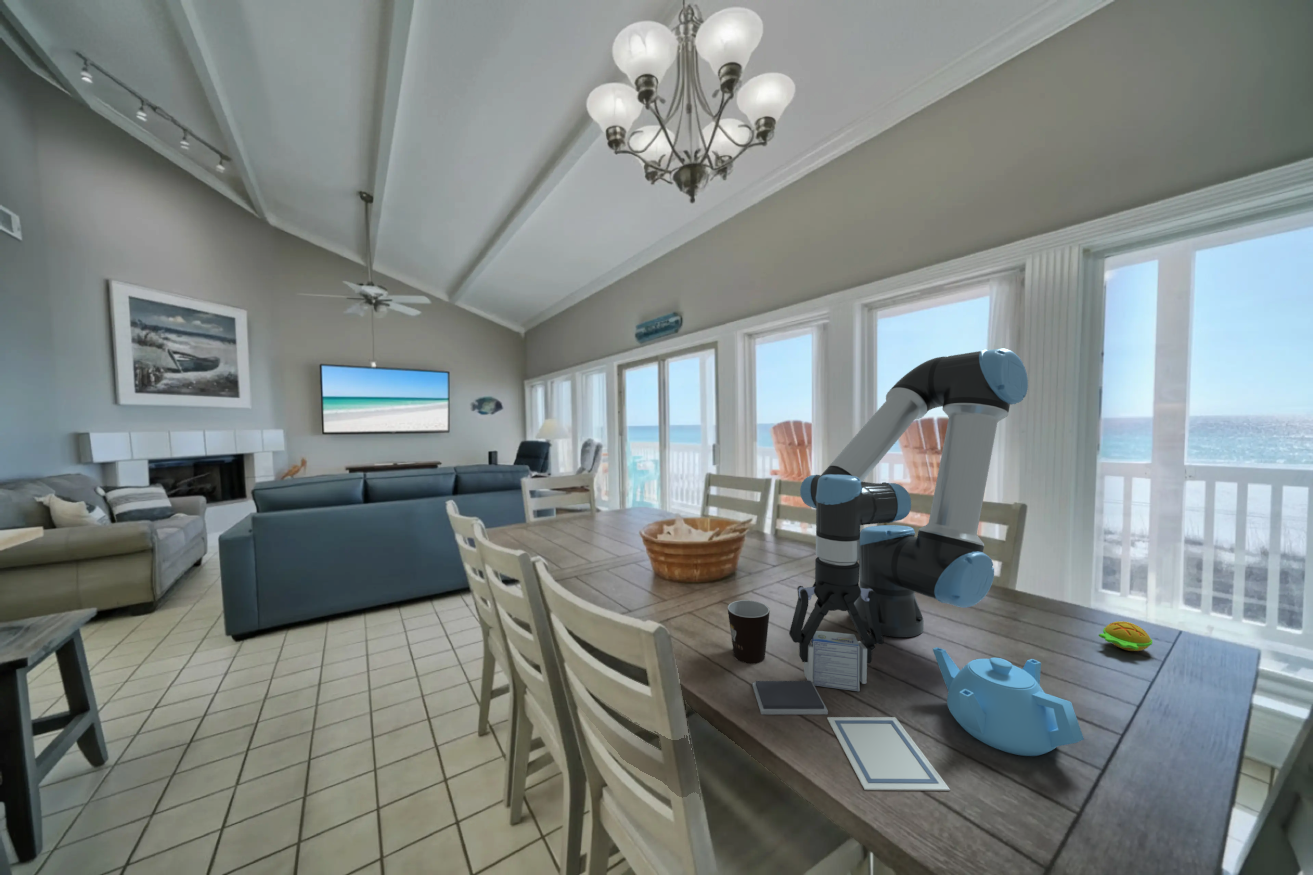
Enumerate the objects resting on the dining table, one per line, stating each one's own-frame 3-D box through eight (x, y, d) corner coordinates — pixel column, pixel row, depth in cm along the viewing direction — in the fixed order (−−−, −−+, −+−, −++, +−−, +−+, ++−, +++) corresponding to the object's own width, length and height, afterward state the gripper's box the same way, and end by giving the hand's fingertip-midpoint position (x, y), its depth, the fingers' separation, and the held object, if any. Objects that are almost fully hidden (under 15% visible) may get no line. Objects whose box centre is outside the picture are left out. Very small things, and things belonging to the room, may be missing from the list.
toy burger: (1158, 651, 89) (1159, 625, 89) (1139, 664, 85) (1139, 637, 85) (1112, 637, 95) (1112, 612, 95) (1091, 648, 91) (1091, 623, 91)
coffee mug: (771, 668, 86) (770, 618, 86) (727, 664, 88) (726, 616, 88) (768, 639, 98) (767, 595, 97) (729, 637, 99) (728, 593, 99)
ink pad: (812, 685, 81) (812, 678, 81) (827, 714, 73) (827, 707, 73) (752, 685, 81) (752, 679, 81) (761, 714, 73) (761, 707, 73)
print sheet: (895, 718, 71) (895, 716, 71) (949, 790, 57) (949, 788, 57) (827, 718, 72) (827, 716, 72) (864, 789, 58) (864, 787, 58)
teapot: (955, 750, 64) (955, 678, 64) (931, 691, 78) (931, 631, 78) (1089, 778, 59) (1090, 700, 58) (1038, 709, 73) (1038, 645, 72)
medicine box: (855, 678, 82) (855, 633, 82) (860, 693, 78) (859, 645, 78) (811, 672, 84) (811, 628, 84) (813, 686, 80) (812, 640, 80)
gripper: (887, 553, 84) (884, 668, 85) (773, 551, 85) (771, 665, 86) (908, 566, 76) (904, 692, 77) (782, 564, 77) (780, 689, 78)
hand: (834, 678), depth 81 cm, fingers open, 9 cm apart
